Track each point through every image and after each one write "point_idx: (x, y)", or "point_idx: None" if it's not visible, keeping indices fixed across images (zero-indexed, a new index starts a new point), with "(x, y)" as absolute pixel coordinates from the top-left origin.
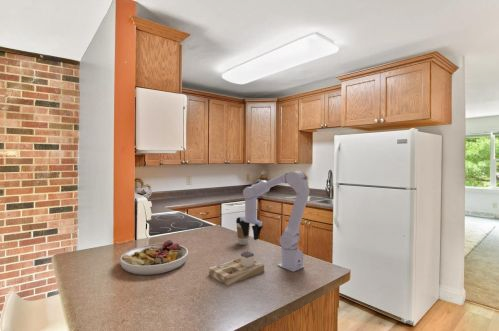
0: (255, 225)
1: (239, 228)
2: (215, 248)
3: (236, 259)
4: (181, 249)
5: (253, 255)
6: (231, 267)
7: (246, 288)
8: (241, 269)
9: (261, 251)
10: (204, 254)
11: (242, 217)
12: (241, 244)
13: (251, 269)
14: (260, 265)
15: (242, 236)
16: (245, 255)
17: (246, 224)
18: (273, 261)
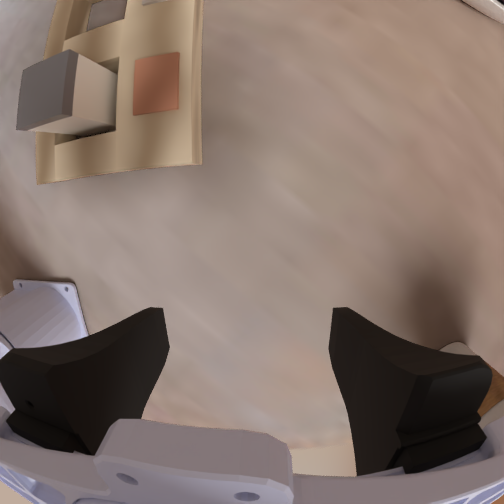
0: (59, 430)
1: (499, 394)
2: (500, 199)
3: (189, 84)
4: (498, 1)
5: (24, 128)
6: (127, 18)
7: (25, 46)
8: (66, 49)
9: (289, 370)
10: (469, 89)
11: (499, 491)
12: (443, 348)
13: None
14: (39, 162)
15: None
16: (32, 66)
17: (374, 444)
18: (127, 313)
